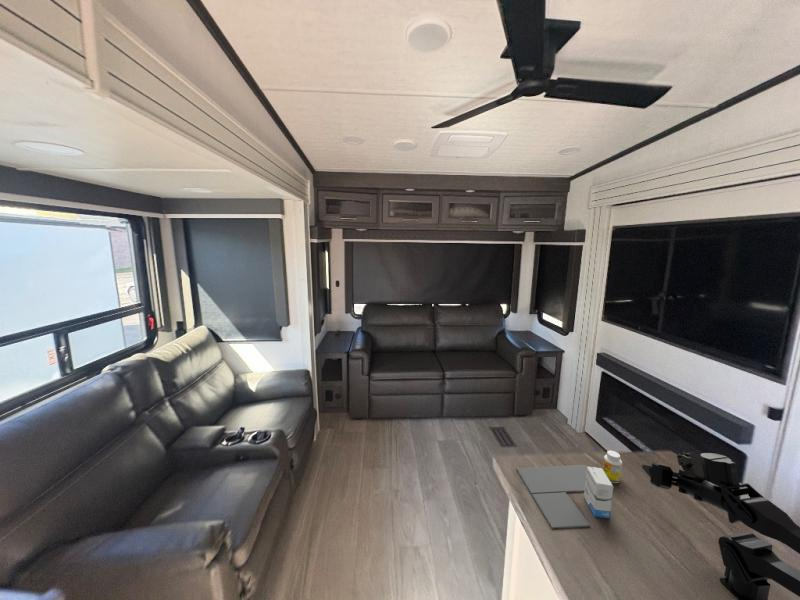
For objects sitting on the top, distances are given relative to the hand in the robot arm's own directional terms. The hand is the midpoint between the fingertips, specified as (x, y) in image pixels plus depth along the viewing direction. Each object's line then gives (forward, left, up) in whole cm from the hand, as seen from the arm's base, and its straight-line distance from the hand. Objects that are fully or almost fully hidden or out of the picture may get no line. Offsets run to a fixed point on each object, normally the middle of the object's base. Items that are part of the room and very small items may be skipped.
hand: (655, 469), depth 98 cm
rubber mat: (+8, +22, -15) cm, 27 cm away
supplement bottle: (+14, +3, -15) cm, 21 cm away
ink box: (+2, +17, -15) cm, 23 cm away
